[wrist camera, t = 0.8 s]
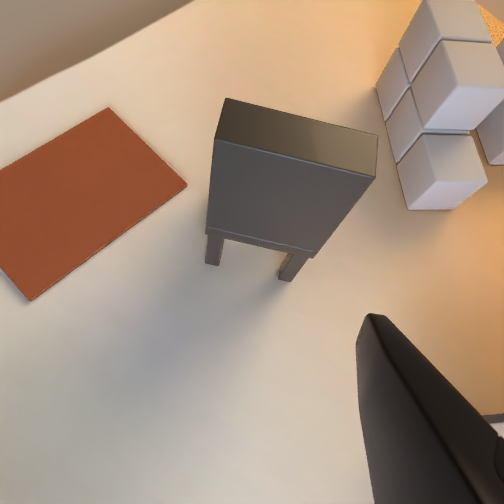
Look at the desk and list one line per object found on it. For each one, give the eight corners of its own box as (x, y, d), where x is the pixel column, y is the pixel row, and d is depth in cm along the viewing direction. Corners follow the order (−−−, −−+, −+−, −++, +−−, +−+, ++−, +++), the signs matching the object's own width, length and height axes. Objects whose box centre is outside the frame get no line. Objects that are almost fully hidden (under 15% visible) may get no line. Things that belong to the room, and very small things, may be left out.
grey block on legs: (292, 285, 26) (376, 177, 15) (201, 264, 26) (213, 138, 14) (304, 206, 29) (383, 61, 17) (221, 186, 28) (244, 24, 17)
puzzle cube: (406, 210, 30) (477, 142, 22) (374, 85, 34) (424, -6, 27) (547, 209, 32) (654, 146, 24) (499, 91, 36) (577, 8, 29)
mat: (187, 186, 28) (187, 183, 27) (30, 301, 23) (28, 300, 23) (109, 109, 29) (108, 106, 29) (-53, 204, 25) (-56, 202, 25)
